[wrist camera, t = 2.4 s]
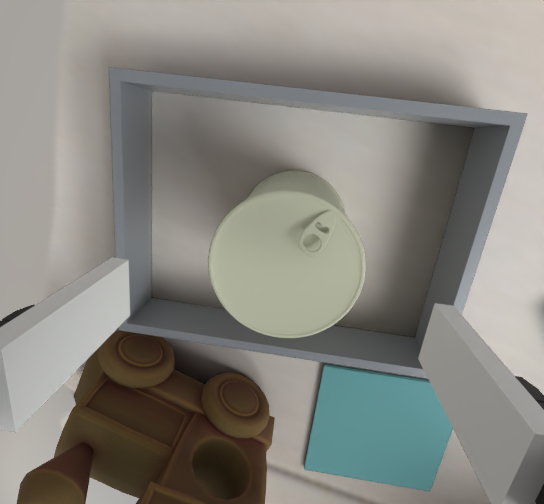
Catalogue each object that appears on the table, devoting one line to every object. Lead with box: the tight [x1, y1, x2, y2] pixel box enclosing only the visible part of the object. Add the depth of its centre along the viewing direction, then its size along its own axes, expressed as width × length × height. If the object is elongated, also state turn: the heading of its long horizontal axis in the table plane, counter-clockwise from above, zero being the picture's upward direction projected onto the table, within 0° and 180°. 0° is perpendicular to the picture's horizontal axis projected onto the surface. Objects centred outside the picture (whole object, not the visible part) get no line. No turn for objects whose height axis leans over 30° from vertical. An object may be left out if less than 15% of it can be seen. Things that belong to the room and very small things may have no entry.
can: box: [208, 171, 366, 338], centre depth 25 cm, size 9×9×12 cm
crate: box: [109, 67, 527, 378], centre depth 28 cm, size 21×28×5 cm
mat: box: [304, 364, 453, 491], centre depth 37 cm, size 14×14×1 cm
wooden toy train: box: [17, 330, 274, 504], centre depth 30 cm, size 20×11×17 cm, turn 63°
